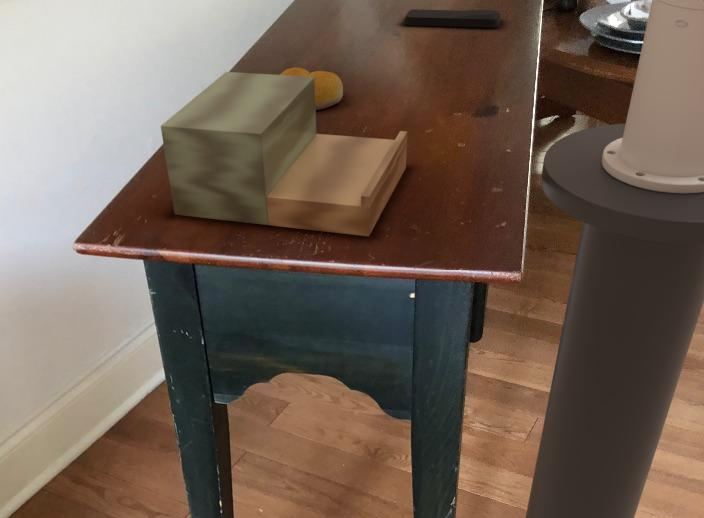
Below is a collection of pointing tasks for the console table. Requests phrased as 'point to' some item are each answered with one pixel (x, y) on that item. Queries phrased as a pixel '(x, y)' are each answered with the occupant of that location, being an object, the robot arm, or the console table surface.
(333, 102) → the bread roll
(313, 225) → the green block on base
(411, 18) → the remote control
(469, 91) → the console table surface
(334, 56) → the console table surface
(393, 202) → the console table surface
